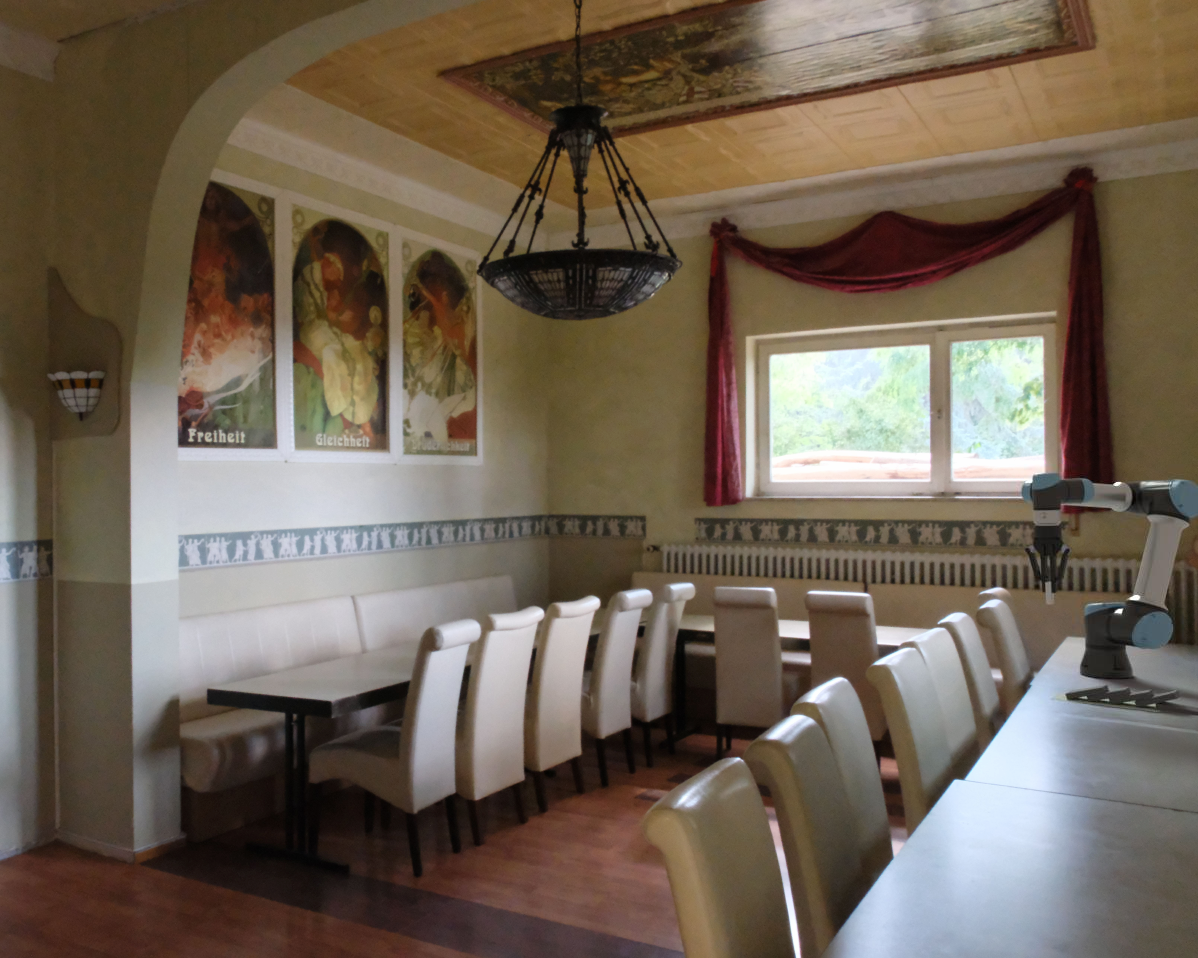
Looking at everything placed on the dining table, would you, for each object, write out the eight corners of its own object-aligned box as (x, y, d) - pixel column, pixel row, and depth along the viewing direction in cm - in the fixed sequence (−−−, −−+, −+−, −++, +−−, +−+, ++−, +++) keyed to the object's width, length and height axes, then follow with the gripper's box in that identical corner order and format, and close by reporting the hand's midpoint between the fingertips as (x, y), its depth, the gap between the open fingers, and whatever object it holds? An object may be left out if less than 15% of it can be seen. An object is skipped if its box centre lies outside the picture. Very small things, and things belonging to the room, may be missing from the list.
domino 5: (1160, 700, 261) (1203, 708, 255) (1159, 706, 261) (1202, 714, 255) (1155, 703, 258) (1199, 711, 251) (1155, 709, 258) (1198, 718, 251)
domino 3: (1113, 695, 269) (1151, 689, 263) (1115, 701, 269) (1154, 695, 263) (1108, 698, 265) (1147, 692, 259) (1110, 704, 265) (1149, 698, 259)
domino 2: (1091, 693, 273) (1129, 686, 266) (1093, 698, 272) (1131, 692, 266) (1086, 696, 269) (1124, 689, 263) (1088, 701, 269) (1126, 695, 262)
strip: (1060, 695, 280) (1060, 693, 280) (1167, 708, 262) (1167, 706, 262) (1051, 700, 273) (1050, 698, 273) (1159, 714, 255) (1159, 711, 255)
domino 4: (1138, 698, 265) (1177, 689, 259) (1140, 704, 265) (1180, 695, 259) (1134, 701, 261) (1174, 692, 255) (1136, 707, 261) (1176, 698, 255)
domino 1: (1070, 690, 276) (1107, 684, 270) (1072, 696, 276) (1109, 690, 270) (1065, 693, 272) (1102, 687, 266) (1067, 699, 272) (1104, 693, 266)
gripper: (1020, 525, 291) (1023, 604, 290) (1067, 525, 282) (1069, 606, 282) (1028, 523, 296) (1031, 601, 296) (1074, 524, 288) (1077, 603, 287)
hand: (1050, 603), depth 289 cm, fingers closed
